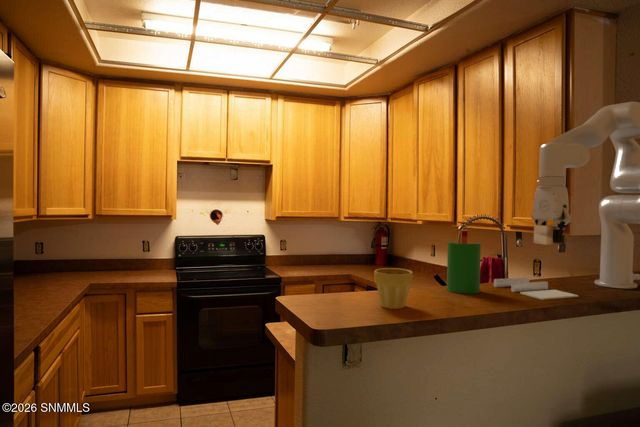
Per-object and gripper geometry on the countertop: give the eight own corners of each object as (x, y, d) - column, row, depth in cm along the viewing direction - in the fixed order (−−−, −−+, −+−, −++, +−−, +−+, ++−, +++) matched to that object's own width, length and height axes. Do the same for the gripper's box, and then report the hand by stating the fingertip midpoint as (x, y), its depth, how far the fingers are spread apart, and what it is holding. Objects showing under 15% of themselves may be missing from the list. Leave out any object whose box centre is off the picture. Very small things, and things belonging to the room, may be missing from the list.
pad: (554, 291, 150) (554, 289, 150) (578, 296, 142) (578, 295, 142) (520, 293, 146) (520, 292, 146) (542, 299, 137) (542, 298, 137)
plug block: (546, 242, 146) (546, 225, 146) (559, 244, 141) (559, 226, 141) (533, 243, 144) (534, 225, 144) (546, 244, 140) (546, 226, 140)
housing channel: (526, 284, 162) (526, 277, 162) (547, 289, 153) (547, 282, 153) (493, 286, 157) (493, 279, 157) (513, 291, 149) (513, 284, 148)
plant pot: (403, 312, 120) (404, 275, 120) (367, 307, 125) (368, 271, 125) (417, 305, 129) (418, 270, 128) (383, 300, 134) (383, 266, 134)
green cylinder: (476, 288, 153) (477, 228, 152) (483, 294, 144) (484, 230, 143) (445, 288, 154) (446, 228, 153) (449, 293, 145) (451, 230, 144)
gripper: (521, 183, 150) (520, 239, 150) (565, 182, 133) (563, 244, 134) (540, 184, 152) (538, 239, 153) (585, 182, 136) (583, 244, 137)
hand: (550, 241), depth 143 cm, fingers closed on plug block, 5 cm apart
